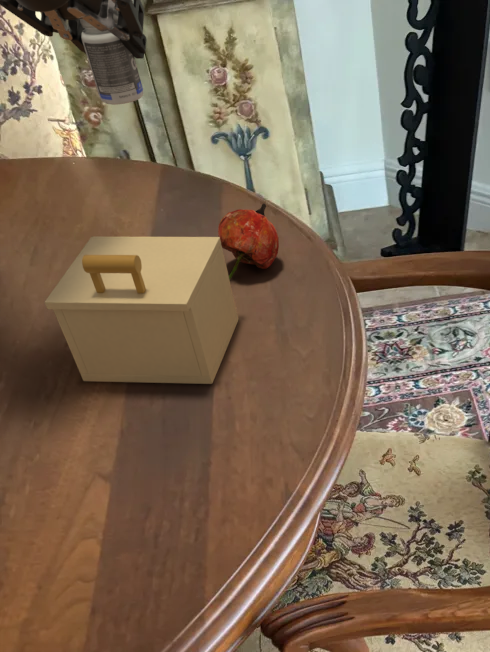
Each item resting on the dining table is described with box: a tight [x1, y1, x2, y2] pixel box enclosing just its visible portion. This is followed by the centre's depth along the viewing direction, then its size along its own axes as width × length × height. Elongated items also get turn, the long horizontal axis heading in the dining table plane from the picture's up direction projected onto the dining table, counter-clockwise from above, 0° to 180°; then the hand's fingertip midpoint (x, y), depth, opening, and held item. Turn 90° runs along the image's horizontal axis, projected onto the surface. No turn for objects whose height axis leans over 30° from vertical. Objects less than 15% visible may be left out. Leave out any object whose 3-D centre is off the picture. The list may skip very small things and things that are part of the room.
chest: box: [52, 245, 240, 385], centre depth 81 cm, size 12×14×9 cm
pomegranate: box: [217, 202, 280, 280], centre depth 93 cm, size 7×7×10 cm
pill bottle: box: [79, 14, 144, 106], centre depth 82 cm, size 5×5×8 cm
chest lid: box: [44, 235, 221, 311], centre depth 76 cm, size 13×14×4 cm
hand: (117, 49), depth 83 cm, fingers closed on pill bottle, 4 cm apart
